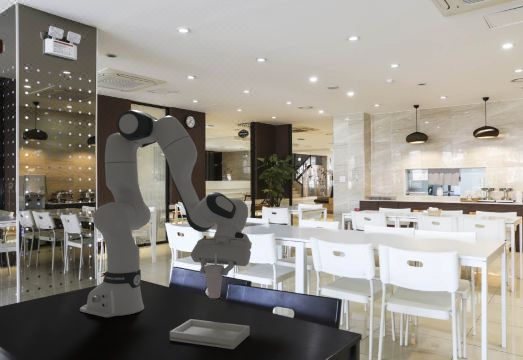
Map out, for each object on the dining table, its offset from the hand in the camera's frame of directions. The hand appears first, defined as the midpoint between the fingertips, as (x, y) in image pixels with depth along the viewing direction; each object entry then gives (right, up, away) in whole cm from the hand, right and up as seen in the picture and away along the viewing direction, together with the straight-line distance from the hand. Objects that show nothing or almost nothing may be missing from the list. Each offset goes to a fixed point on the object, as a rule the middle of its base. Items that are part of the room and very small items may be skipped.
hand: (213, 273), depth 134 cm
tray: (+1, -16, -11) cm, 20 cm away
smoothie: (0, -8, +1) cm, 8 cm away
